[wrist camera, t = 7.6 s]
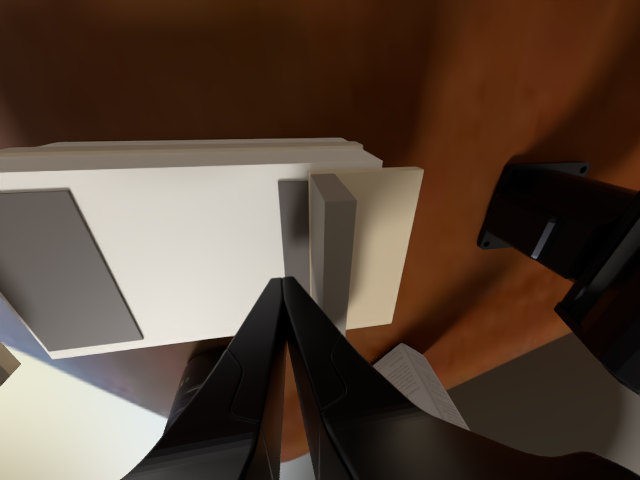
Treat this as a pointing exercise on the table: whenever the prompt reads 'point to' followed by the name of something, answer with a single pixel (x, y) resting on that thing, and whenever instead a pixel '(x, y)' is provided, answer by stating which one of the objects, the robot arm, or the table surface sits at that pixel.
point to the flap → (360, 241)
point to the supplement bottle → (193, 380)
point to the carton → (154, 235)
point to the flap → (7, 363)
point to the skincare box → (418, 383)
